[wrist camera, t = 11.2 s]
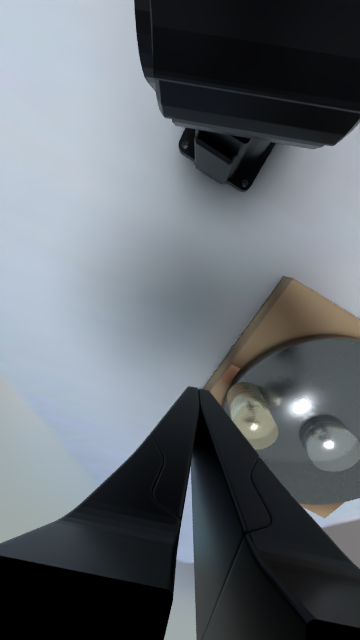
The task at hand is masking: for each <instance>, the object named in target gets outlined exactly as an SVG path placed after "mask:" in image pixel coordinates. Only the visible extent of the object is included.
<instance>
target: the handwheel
mask: <svg viewBox="0 0 360 640" xmlns="http://www.w3.org/2000/svg"><path fill="white" fill-rule="evenodd" d="M221 407H222V408H223V409H224V410H225V412H226V413H227V414H228V416H229V417H230V418H231V419H232V421H233V422H234V423H235V425H236V426H237V427H238V429H239V430H240V431H241V432H242V434H243V435H244V436H245V438H246V439H247V440H248V441H249V443H250V444H251V445H252V447H253V448H254V449H255V451H256V452H257V453H258V454H259V457H261V458H262V459H263V461H264V462H265V463H266V465H267V466H268V467H269V468H270V470H271V471H272V472H273V473H274V475H275V476H276V477H277V478H278V480H279V481H280V482H281V483H282V485H283V486H284V487H285V488H286V489H287V490H288V491H289V493H290V494H291V495H292V496H293V497H294V498H295V499H296V501H297V502H298V503H299V504H309V505H325V504H334V503H341V502H346V501H350V500H354V499H357V498H360V338H356V337H352V336H344V335H327V334H323V335H313V336H307V337H302V338H297V339H294V340H291V341H288V342H285V343H282V344H279V345H277V346H275V347H273V348H271V349H269V350H267V351H266V352H264V353H262V354H261V355H259V356H257V357H256V358H255V359H254V360H252V361H251V362H250V363H249V364H247V365H246V366H245V367H244V368H243V369H242V370H241V371H240V372H239V373H238V375H237V376H236V377H235V379H234V380H233V381H232V383H231V384H230V386H229V388H228V390H227V392H226V394H225V397H224V399H223V402H222V406H221Z"/></svg>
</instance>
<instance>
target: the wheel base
mask: <svg viewBox="0 0 360 640" xmlns="http://www.w3.org/2000/svg"><path fill="white" fill-rule="evenodd" d="M323 334H327V335H344V336H352V337H356V338H360V319H359V318H357V317H355V316H354V315H352V314H350V313H349V312H347V311H346V310H344V309H342V308H341V307H339V306H337V305H336V304H334V303H332V302H331V301H329V300H328V299H326V298H324V297H323V296H321V295H319V294H318V293H316V292H315V291H313V290H311V289H310V288H308V287H306V286H305V285H303V284H302V283H300V282H298V281H297V280H295V279H293V278H289V277H285V276H284V277H283V278H282V280H281V281H280V282H279V284H278V285H277V287H276V288H275V289H274V291H273V292H272V294H271V295H270V296H269V298H268V299H267V301H266V302H265V303H264V305H263V306H262V307H261V309H260V310H259V312H258V313H257V314H256V316H255V317H254V319H253V320H252V321H251V323H250V324H249V326H248V327H247V328H246V330H245V331H244V333H243V334H242V335H241V337H240V338H239V340H238V341H237V342H236V344H235V345H234V347H233V348H232V349H231V351H230V352H229V354H228V355H227V356H226V358H225V359H224V361H223V362H222V363H221V365H220V366H219V367H218V369H217V370H216V372H215V373H214V374H213V376H212V377H211V379H210V380H209V381H208V383H207V384H206V386H205V387H204V388H203V389H205V390H209V391H210V392H211V394H212V395H213V396H214V397H215V399H216V400H217V401H218V403H219V404H220V405H221V406H222V402H223V399H224V397H225V394H226V392H227V390H228V388H229V386H230V384H231V383H232V381H233V380H234V379H235V377H236V376H237V375H238V373H239V372H240V371H241V370H242V369H243V368H244V367H245V366H246V365H247V364H249V363H250V362H251V361H252V360H254V359H255V358H256V357H257V356H259V355H261V354H262V353H264V352H266V351H267V350H269V349H271V348H273V347H275V346H277V345H279V344H282V343H285V342H288V341H291V340H294V339H297V338H302V337H307V336H313V335H323ZM343 503H344V502H341V503H334V504H325V505H309V504H300V505H301V506H302V507H304V508H306V509H308V510H310V511H312V512H314V513H315V514H317V515H319V516H321V517H323V518H326V517H327V516H328V515H329V514H331V513H332V512H333V511H334V510H336V509H337V508H338V507H339V506H341V505H342V504H343Z"/></svg>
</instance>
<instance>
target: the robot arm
mask: <svg viewBox="0 0 360 640" xmlns="http://www.w3.org/2000/svg"><path fill="white" fill-rule="evenodd" d="M134 3H135V19H136V32H137V40H138V49H139V55H140V61H141V66H142V70H143V73H144V77H145V79H146V80H147V82H148V83H149V84H150V86H151V87H152V88H153V89H154V90H155V91H156V95H157V101H158V105H159V109H160V111H161V113H162V114H163V116H164V118H169V119H172V122H173V123H174V124H175V125H176V126H180V127H186V128H185V130H184V132H183V134H182V137H181V139H180V141H179V150H180V152H181V153H182V154H183V155H185V156H186V157H188V158H189V159H191V160H193V161H194V162H195V166H196V168H197V169H199V170H200V171H202V172H203V173H205V174H207V175H208V176H210V177H211V178H213V179H214V180H216V181H218V182H219V183H221V184H223V183H226V182H227V183H228V184H230V185H232V186H233V187H235V188H236V189H238V190H239V191H242V192H245V191H247V190H248V189H249V188H250V186H251V185H252V183H253V181H254V180H255V178H256V176H257V174H258V173H259V171H260V169H261V168H262V166H263V164H264V162H265V161H266V159H267V157H268V156H269V154H270V152H271V151H272V149H273V147H274V145H275V144H276V143H280V144H286V145H292V146H297V147H303V148H309V149H316V148H320V147H323V146H324V145H328V146H334V145H335V144H337V143H338V142H339V141H341V140H342V139H343V138H344V137H345V136H347V135H348V134H349V133H350V132H351V131H352V130H353V129H354V128H355V127H356V126H357V125H358V124H359V123H360V0H134ZM185 143H186V144H188V147H187V148H186V149H184V148H183V147H182V145H183V144H185ZM244 181H245V182H246V183H247V186H246V187H243V186H242V182H244ZM190 467H191V483H192V513H193V543H194V571H195V572H194V573H195V603H196V634H197V640H360V569H359V568H358V567H357V566H356V565H355V564H354V563H353V562H352V561H351V560H350V559H349V558H348V557H347V556H346V555H345V554H344V553H343V552H342V551H341V549H340V548H339V547H338V546H337V545H336V544H335V543H334V542H333V541H332V540H331V538H330V537H329V536H328V535H327V534H326V533H325V532H324V531H323V530H322V528H321V527H320V526H319V525H318V524H317V523H316V522H315V521H314V520H313V518H312V517H311V516H310V515H309V514H308V513H307V512H306V511H305V510H304V508H303V507H302V506H301V505H300V504H299V503H298V502H297V501H296V499H295V498H294V497H293V496H292V495H291V494H290V493H289V491H288V490H287V489H286V488H285V487H284V486H283V485H282V483H281V482H280V481H279V480H278V478H277V477H276V476H275V475H274V473H273V472H272V471H271V470H270V468H269V467H268V466H267V465H266V463H265V462H264V461H263V459H262V458H261V457H259V454H258V453H257V452H256V451H255V449H254V448H253V447H252V445H251V444H250V443H249V441H248V440H247V439H246V438H245V436H244V435H243V434H242V432H241V431H240V430H239V429H238V427H237V426H236V425H235V423H234V422H233V421H232V419H231V418H230V417H229V416H228V414H227V413H226V412H225V410H224V409H223V408H222V407H221V405H220V404H219V403H218V401H217V400H216V399H215V397H214V396H213V395H212V394H211V392H210V391H209V390H205V389H199V390H198V388H195V387H190V386H189V387H187V388H186V390H185V391H184V392H183V393H182V395H181V396H180V397H179V398H178V400H177V401H176V402H175V403H174V405H173V406H172V407H171V408H170V410H169V411H168V412H167V413H166V415H165V416H164V417H163V418H162V419H161V421H160V422H159V423H158V424H157V426H156V427H155V428H154V429H153V431H152V432H151V433H150V435H149V436H148V437H147V438H146V439H145V440H144V442H143V443H142V444H141V445H140V446H139V447H138V449H137V450H136V451H135V452H134V453H133V454H132V455H131V456H130V457H129V458H128V459H127V460H126V461H125V462H124V463H123V464H122V465H121V466H120V467H119V468H118V469H117V470H116V471H115V472H114V473H113V474H112V475H111V476H110V477H109V478H107V479H106V480H105V481H104V482H103V483H102V484H101V485H100V486H99V487H98V488H97V489H96V490H95V491H94V492H93V493H91V495H89V497H87V498H86V499H85V500H84V501H83V502H82V503H81V504H80V505H78V506H77V507H76V508H75V509H74V510H72V511H71V512H69V513H68V514H67V515H65V516H64V517H62V518H61V519H58V520H57V521H54V522H52V523H50V524H47V525H45V526H42V527H40V528H37V529H35V530H32V531H30V532H27V533H25V534H22V535H20V536H18V537H15V538H13V539H10V540H8V541H5V542H3V543H0V640H164V636H165V632H166V627H167V623H168V619H169V615H170V610H171V606H172V601H173V591H174V580H175V568H176V556H177V548H178V540H179V534H180V527H181V521H182V515H183V509H184V503H185V497H186V491H187V485H188V479H189V473H190Z"/></svg>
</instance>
